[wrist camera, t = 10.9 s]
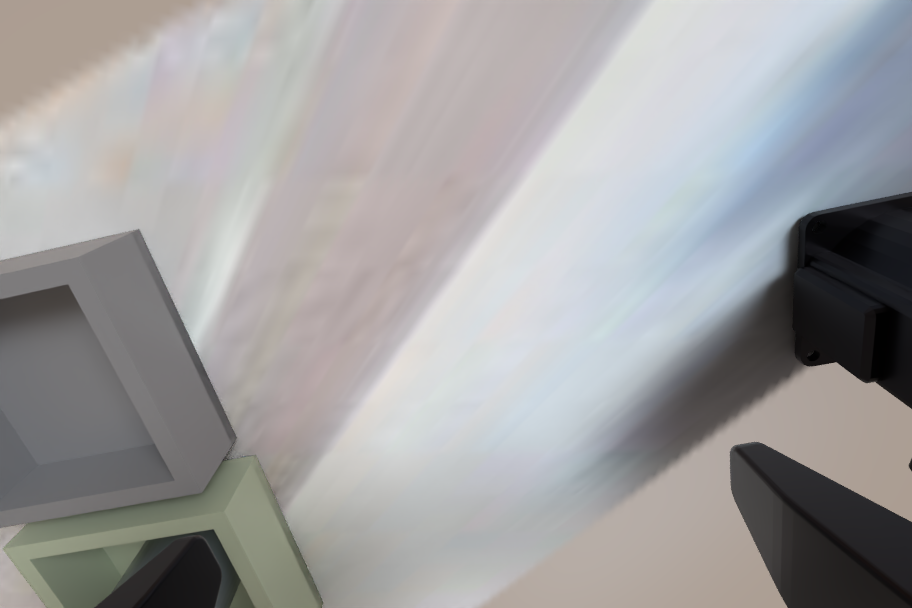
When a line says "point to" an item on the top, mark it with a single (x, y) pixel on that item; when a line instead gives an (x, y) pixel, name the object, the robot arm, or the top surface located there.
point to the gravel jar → (228, 571)
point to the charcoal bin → (99, 385)
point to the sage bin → (127, 528)
